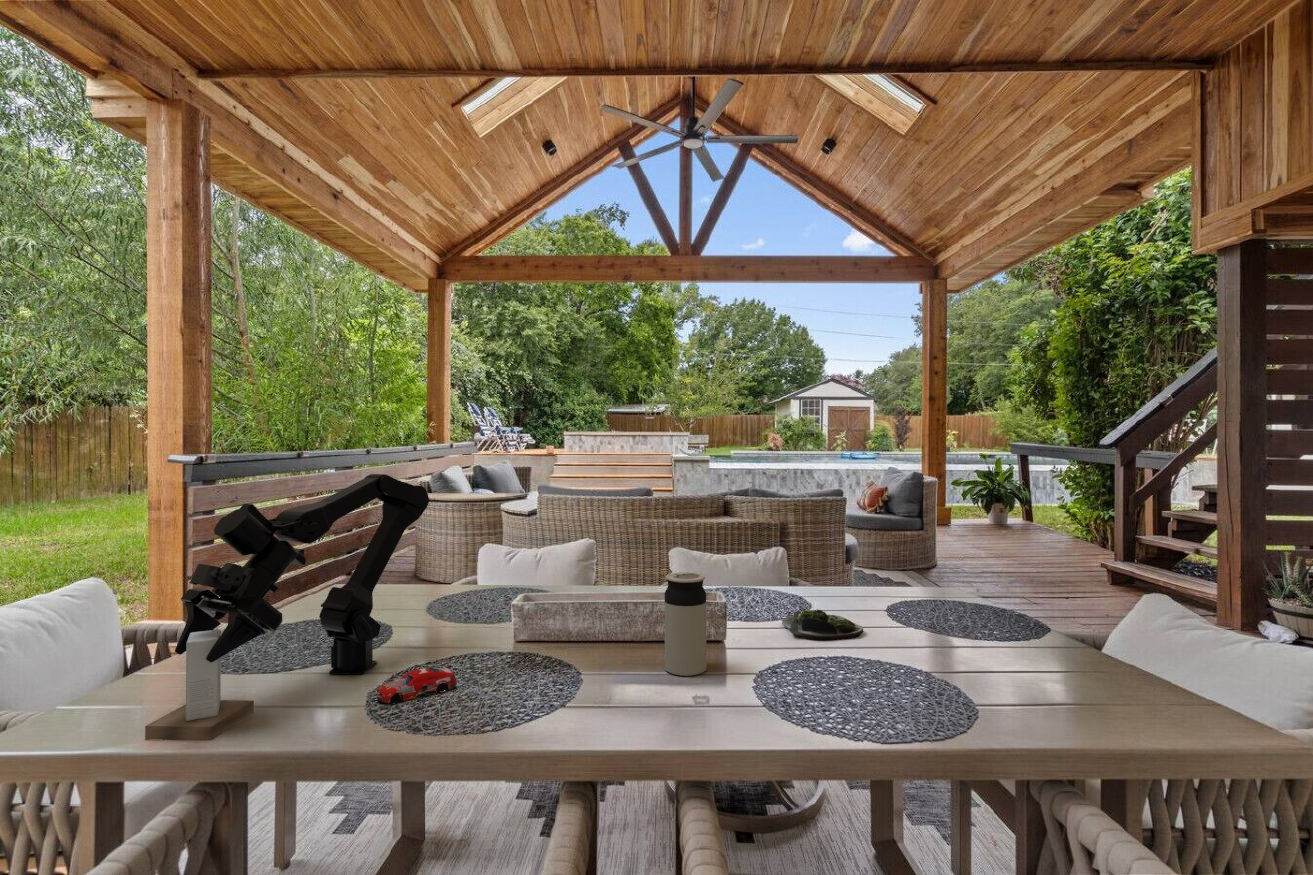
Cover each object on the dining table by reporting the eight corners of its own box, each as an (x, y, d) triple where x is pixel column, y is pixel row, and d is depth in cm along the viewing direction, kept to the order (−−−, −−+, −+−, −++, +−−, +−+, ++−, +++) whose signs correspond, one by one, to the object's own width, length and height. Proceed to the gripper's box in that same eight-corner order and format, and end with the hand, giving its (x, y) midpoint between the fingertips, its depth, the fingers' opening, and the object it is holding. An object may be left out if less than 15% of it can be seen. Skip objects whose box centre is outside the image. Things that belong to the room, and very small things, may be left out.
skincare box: (188, 708, 106) (189, 632, 106) (220, 703, 108) (221, 628, 108) (184, 721, 101) (185, 641, 101) (218, 716, 103) (219, 637, 103)
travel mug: (714, 669, 129) (714, 575, 129) (687, 680, 123) (687, 582, 123) (683, 659, 134) (683, 569, 134) (656, 670, 128) (655, 576, 128)
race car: (381, 709, 111) (381, 685, 111) (373, 699, 115) (373, 675, 115) (459, 690, 119) (459, 668, 119) (449, 681, 123) (449, 660, 123)
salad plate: (765, 620, 164) (765, 601, 164) (832, 616, 167) (832, 598, 167) (797, 644, 145) (797, 623, 145) (873, 639, 148) (873, 618, 148)
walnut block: (253, 718, 109) (253, 700, 109) (211, 746, 99) (210, 726, 99) (194, 718, 109) (194, 699, 109) (145, 746, 99) (145, 725, 99)
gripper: (193, 539, 112) (116, 622, 102) (263, 547, 103) (187, 638, 94) (240, 577, 119) (173, 658, 109) (310, 587, 111) (244, 676, 101)
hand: (192, 657), depth 103 cm, fingers open, 8 cm apart
